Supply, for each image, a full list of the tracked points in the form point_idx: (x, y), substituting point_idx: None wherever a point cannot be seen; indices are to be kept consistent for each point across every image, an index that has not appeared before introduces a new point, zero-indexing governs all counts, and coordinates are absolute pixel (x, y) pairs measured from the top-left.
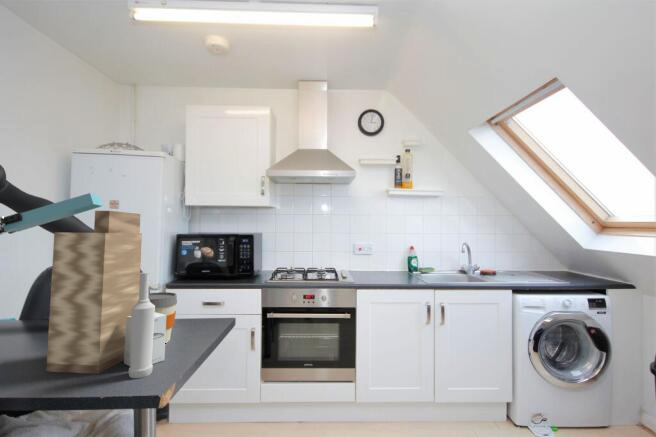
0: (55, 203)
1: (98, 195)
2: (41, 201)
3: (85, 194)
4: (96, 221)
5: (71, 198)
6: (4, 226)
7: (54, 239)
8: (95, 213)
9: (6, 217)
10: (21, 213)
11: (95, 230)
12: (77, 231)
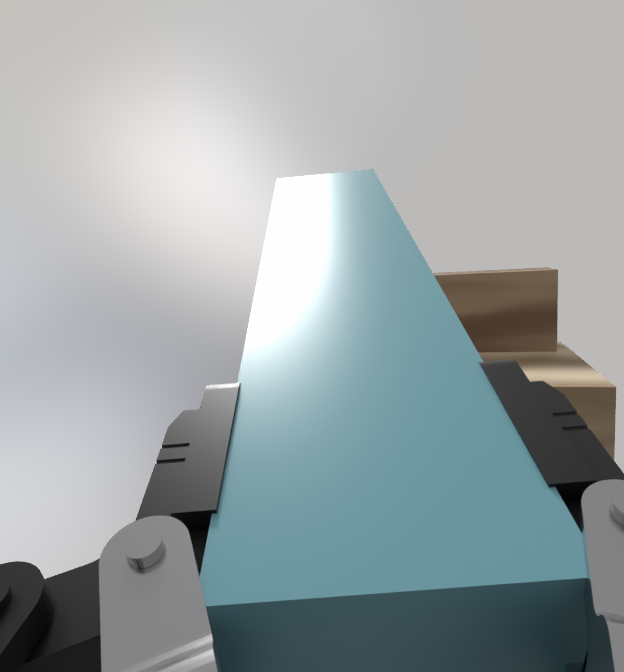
0: (403, 226)
1: (285, 178)
2: None
3: (376, 175)
4: (555, 309)
5: (387, 194)
6: (565, 662)
7: (614, 420)
8: (557, 280)
9: (609, 460)
10: (476, 355)
11: (556, 342)
12: None
